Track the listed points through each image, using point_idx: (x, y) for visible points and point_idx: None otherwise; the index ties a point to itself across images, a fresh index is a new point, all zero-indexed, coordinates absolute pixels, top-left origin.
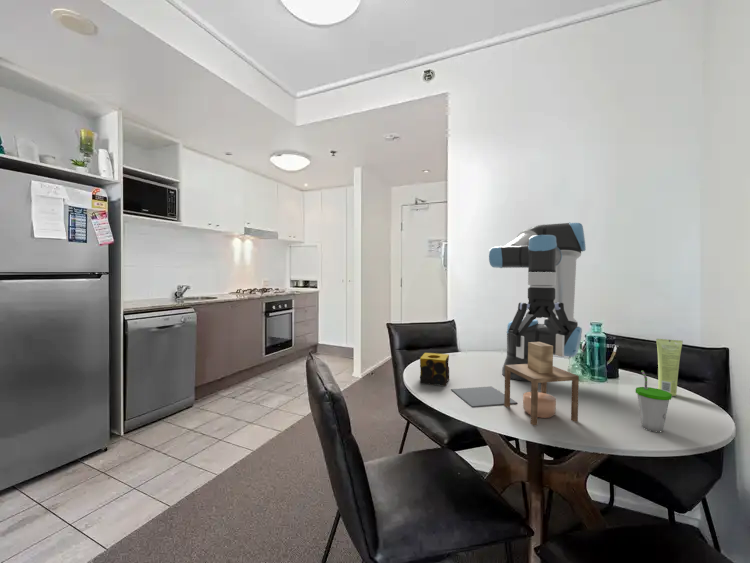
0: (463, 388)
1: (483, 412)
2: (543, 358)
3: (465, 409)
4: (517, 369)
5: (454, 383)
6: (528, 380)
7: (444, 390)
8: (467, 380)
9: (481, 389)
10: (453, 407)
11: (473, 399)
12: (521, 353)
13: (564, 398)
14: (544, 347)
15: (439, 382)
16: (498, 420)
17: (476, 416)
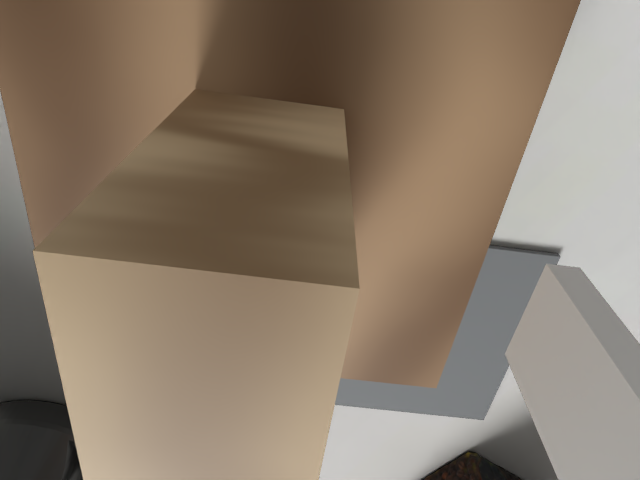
0: (427, 412)
1: (559, 190)
2: (304, 169)
3: (607, 243)
4: (450, 275)
5: (410, 461)
6: (63, 407)
7: (510, 420)
8: (332, 470)
9: (359, 385)
10: (636, 276)
11: (488, 312)
12: (615, 316)
13: (11, 204)
14: (275, 261)
15: (491, 472)
16: (578, 84)
17: (634, 162)
